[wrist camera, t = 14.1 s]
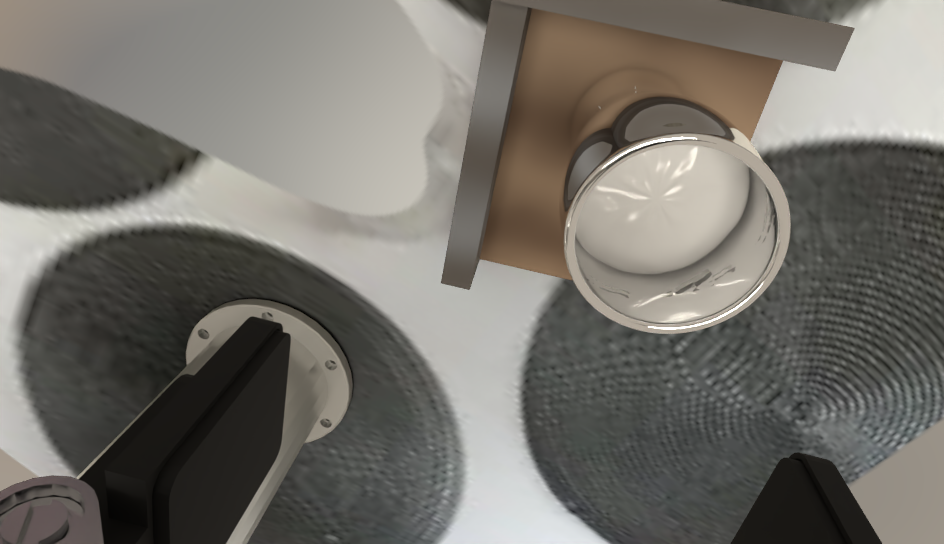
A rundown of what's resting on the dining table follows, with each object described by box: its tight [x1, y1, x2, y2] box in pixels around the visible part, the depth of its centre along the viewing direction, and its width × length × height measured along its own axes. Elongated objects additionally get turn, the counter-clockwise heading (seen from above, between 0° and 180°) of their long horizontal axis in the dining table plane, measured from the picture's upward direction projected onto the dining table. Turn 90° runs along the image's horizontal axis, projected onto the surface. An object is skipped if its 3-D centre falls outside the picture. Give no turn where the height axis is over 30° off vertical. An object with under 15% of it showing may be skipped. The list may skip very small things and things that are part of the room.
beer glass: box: [559, 69, 791, 334], centre depth 24 cm, size 7×7×15 cm
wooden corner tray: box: [441, 0, 855, 290], centre depth 30 cm, size 16×14×8 cm
